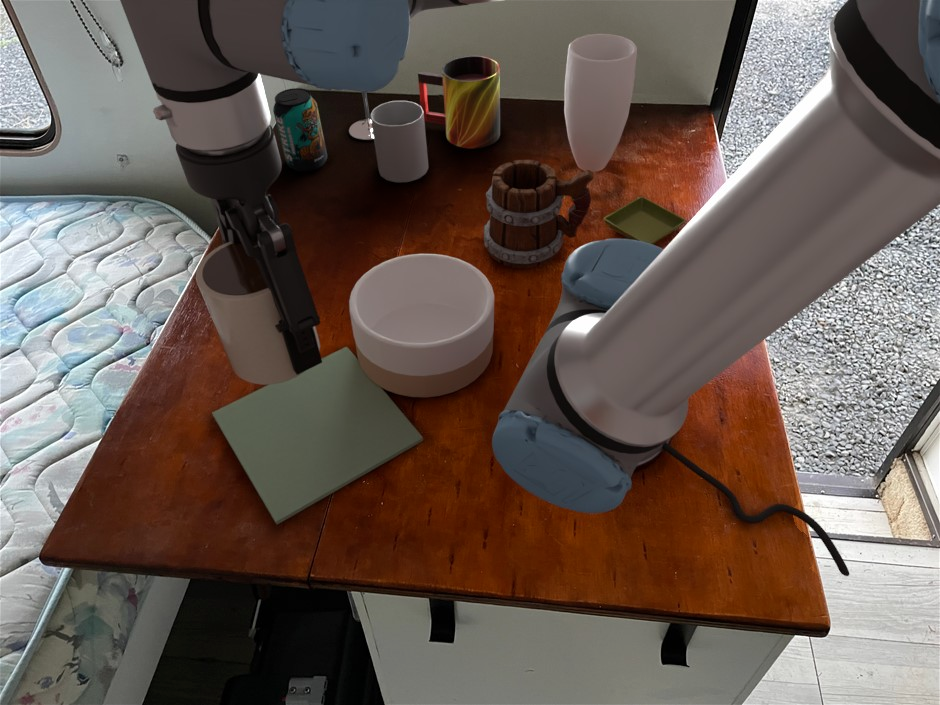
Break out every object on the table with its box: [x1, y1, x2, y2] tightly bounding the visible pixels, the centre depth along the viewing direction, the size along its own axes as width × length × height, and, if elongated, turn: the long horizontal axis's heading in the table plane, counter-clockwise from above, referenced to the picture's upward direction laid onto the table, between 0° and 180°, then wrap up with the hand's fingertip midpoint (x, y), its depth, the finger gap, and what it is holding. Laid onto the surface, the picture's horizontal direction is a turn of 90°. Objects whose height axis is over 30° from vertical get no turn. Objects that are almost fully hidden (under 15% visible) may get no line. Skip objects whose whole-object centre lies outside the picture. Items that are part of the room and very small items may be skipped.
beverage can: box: [272, 87, 328, 173], centre depth 117 cm, size 7×7×12 cm
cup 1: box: [369, 100, 429, 183], centre depth 116 cm, size 8×8×10 cm
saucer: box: [603, 196, 687, 245], centre depth 104 cm, size 9×9×2 cm
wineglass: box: [348, 92, 374, 141], centre depth 122 cm, size 8×8×20 cm
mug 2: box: [483, 159, 595, 270], centre depth 99 cm, size 12×14×15 cm
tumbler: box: [195, 241, 321, 386], centre depth 67 cm, size 11×9×9 cm
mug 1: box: [417, 55, 501, 149], centre depth 122 cm, size 10×14×12 cm
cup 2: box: [563, 33, 638, 173], centre depth 107 cm, size 10×10×22 cm
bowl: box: [348, 253, 495, 398], centre depth 87 cm, size 17×17×8 cm
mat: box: [211, 346, 424, 526], centre depth 81 cm, size 18×18×1 cm
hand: (286, 337), depth 71 cm, fingers closed on tumbler, 9 cm apart
